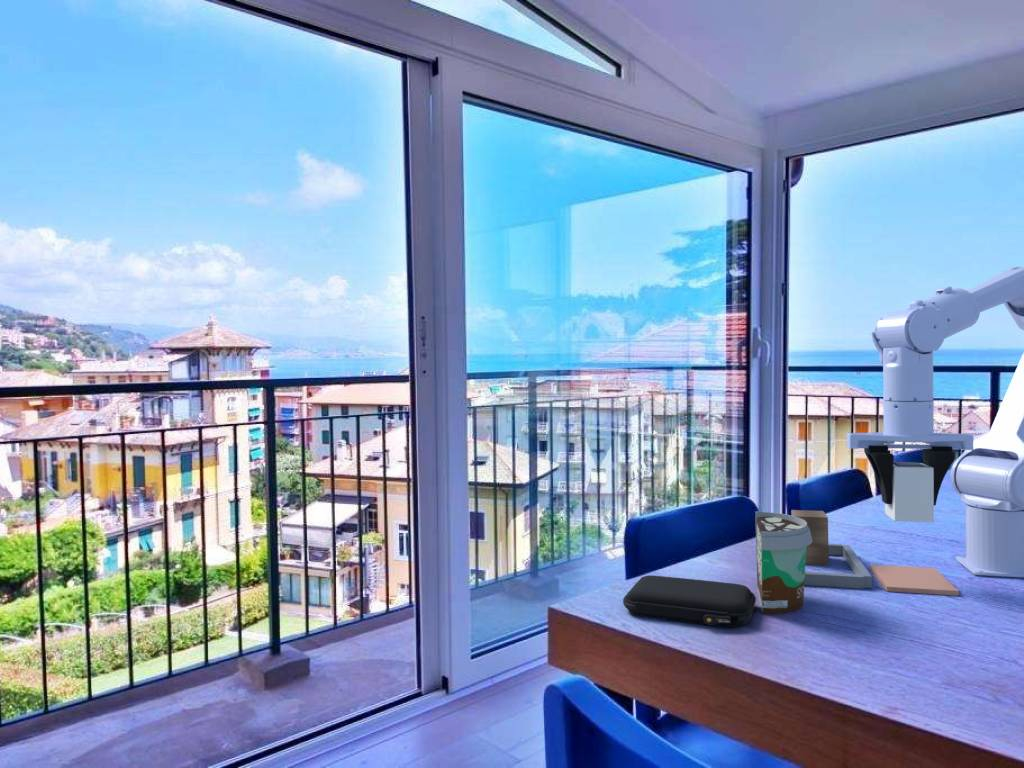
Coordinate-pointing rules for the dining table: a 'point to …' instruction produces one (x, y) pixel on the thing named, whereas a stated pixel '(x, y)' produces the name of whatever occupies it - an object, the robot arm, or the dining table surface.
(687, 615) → the carrying case or bag
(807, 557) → the walnut block
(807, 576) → the grey rectangular frame
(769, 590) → the food container
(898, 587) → the terracotta mat
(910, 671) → the dining table surface
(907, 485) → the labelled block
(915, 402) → the robot arm
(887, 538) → the dining table surface
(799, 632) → the dining table surface
